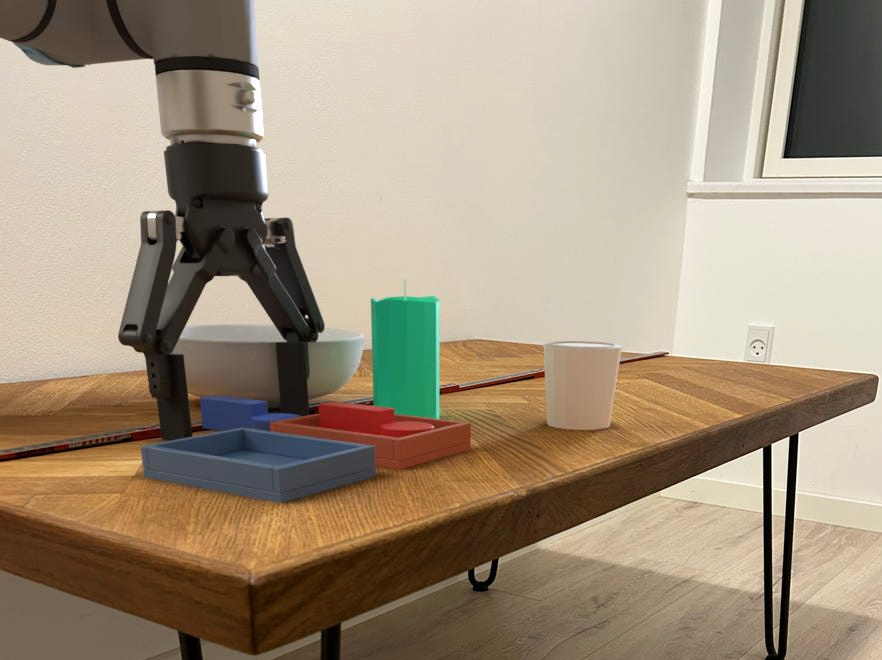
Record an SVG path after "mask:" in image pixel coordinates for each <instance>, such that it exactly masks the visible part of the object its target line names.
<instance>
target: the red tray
mask: <svg viewBox="0 0 882 660" xmlns="http://www.w3.org/2000/svg"><path fill="white" fill-rule="evenodd" d="M394 421H395V422H399V421H414V422H425V423H429V424H432V425H434V429H433V430H429V431H425V432H421V433H417V434H412V435H408V436H404V437H400V438H396V437H389V436H381V435H373V434H366V433H358V432H351V431H343V430H335V429H328V428H320V424H319V413H314V414H309V415H308V416H302V417H297V418H291V419H286V420H280V421H275V422H270V431H271V432H278V433H286V434H293V435H300V436H307V437H315V438H322V439H329V440H336V441H343V442H351V443H358V444H365V445H372V446H375V467H382V468H387V469H397V470H403V469H407V468H411V467H414V466H417V465H421V464H426V463H428V462H431V461H435V460H436V461H437V460H439V459H443V458H446V457H450V456H454V455H456V454H461V453H464V452H467V451H470V450H471V449H472V447H471V446H472V444H471V442H472V441H471V440H472V437H471V436H472V422H469V421H461V420H460V421H459V420H453V419H452V420H451V419H442V418H439V419H435V418H426V417H418V416H409V415H400V414H394Z"/></svg>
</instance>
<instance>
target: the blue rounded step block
mask: <svg viewBox="0 0 882 660" xmlns="http://www.w3.org/2000/svg"><path fill="white" fill-rule="evenodd" d="M199 402H200V403H199V404H200V415H201V424H202V429H206V430H212V431H213V430H214V431H218V432H220V431H226V430H231V429H237V428H250V429H257V430H264V431H270V422H275V421H280V420H286V419H291V418H297V417H301V416H299V415H296V414H286V413H281V412H280V413H279V412H278V413H276V412H273V413H269V408H267V401H260V400H251V399H243V398H234V397H226V396H218V395H214V396H207V397H199Z"/></svg>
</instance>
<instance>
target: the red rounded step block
mask: <svg viewBox="0 0 882 660" xmlns="http://www.w3.org/2000/svg"><path fill="white" fill-rule="evenodd" d="M318 414H319V424H320V428H328V429H335V430H343V431H351V432H358V433H366V434H373V435H381V436H389V437H396V438H400V437H404V436H408V435H412V434H417V433H421V432H425V431H429V430H433V429H434V425H432V424H429V423H425V422H414V421H399V422H395V421H394V408H387V407H378V406H373V405H368V404H361V403H352V402H351V403H350V402H342V401H334V400H333V401H327V402H322V403H318Z"/></svg>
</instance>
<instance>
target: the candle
mask: <svg viewBox="0 0 882 660" xmlns="http://www.w3.org/2000/svg"><path fill="white" fill-rule="evenodd" d="M403 286H404V287H403V291H404V295H403V296H387V297H383V298H381V299H378V300H377V299H376V298H374V297H373V298H370V320H371V321H370V322H371V323H370V325H371V359H372V361H371V364H372V400H373V401H372V403H373V405H372V406H378V407H387V408H394V414H400V415H409V416H418V417H426V418H435V419H440V331H441V330H440V325H441V324H440V322H441V321H440V319H441V317H440V314H441V313H440V310H441V309H440V308H441V307H440V305H441V303H440V299H439V298H437V297H436V296H434V295H429V296H421V297H419V296H408V295H407V279H404V280H403Z"/></svg>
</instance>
